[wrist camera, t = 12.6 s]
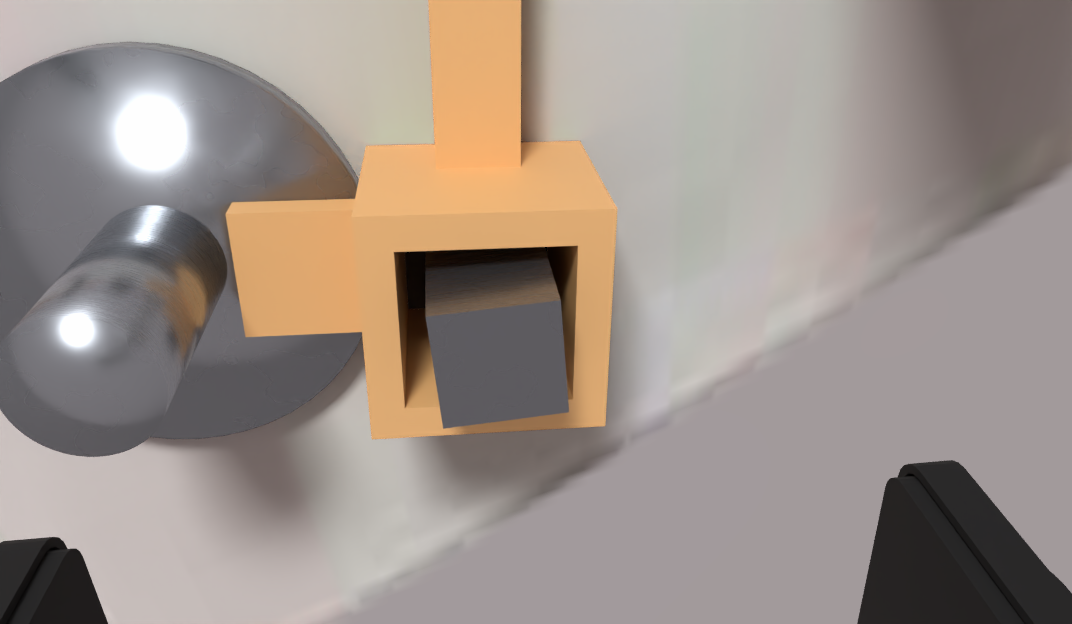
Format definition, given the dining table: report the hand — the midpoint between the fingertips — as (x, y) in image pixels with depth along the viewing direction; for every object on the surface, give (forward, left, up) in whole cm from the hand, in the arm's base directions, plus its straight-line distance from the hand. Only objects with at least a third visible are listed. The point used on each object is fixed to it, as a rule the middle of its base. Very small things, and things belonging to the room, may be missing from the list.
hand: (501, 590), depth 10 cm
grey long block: (-1, +6, -25) cm, 26 cm away
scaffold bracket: (+2, 0, -25) cm, 25 cm away
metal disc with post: (+11, +6, -25) cm, 28 cm away
